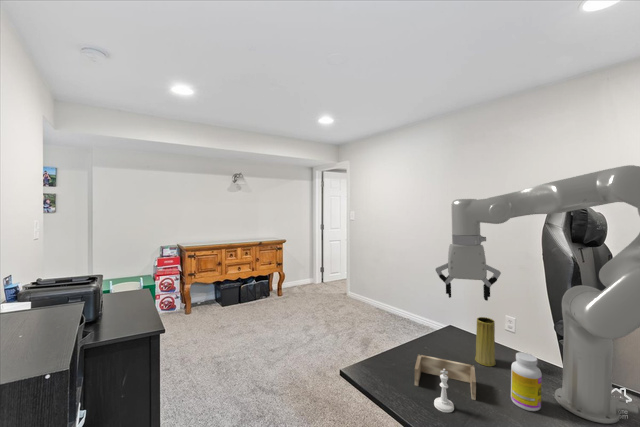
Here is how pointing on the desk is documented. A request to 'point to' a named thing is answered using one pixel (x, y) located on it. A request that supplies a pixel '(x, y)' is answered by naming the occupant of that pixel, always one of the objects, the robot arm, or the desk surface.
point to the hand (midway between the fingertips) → (467, 297)
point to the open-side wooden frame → (453, 368)
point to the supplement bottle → (526, 382)
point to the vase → (485, 341)
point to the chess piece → (444, 396)
